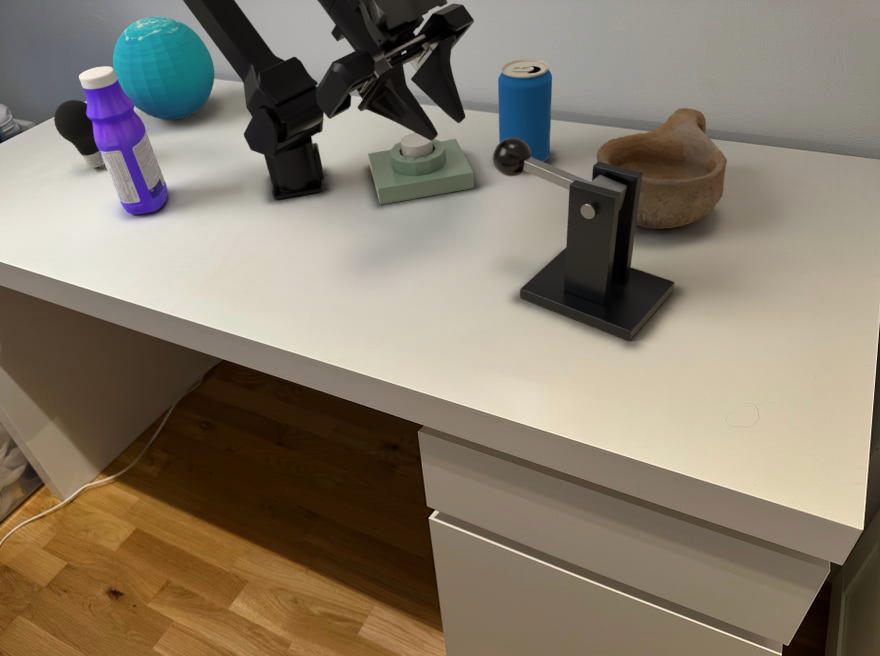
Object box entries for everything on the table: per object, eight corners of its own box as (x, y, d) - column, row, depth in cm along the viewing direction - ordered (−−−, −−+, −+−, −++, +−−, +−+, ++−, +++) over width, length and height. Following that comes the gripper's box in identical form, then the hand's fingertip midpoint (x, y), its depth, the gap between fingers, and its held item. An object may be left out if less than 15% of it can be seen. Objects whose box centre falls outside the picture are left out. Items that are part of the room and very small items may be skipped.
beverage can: (547, 171, 89) (550, 77, 81) (497, 171, 90) (494, 78, 82) (550, 148, 94) (554, 56, 86) (502, 148, 95) (501, 58, 87)
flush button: (404, 162, 87) (403, 148, 86) (399, 148, 90) (398, 135, 89) (436, 156, 87) (434, 143, 86) (430, 142, 90) (428, 130, 89)
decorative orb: (243, 100, 117) (217, 3, 107) (190, 139, 108) (156, 37, 97) (171, 94, 122) (140, 2, 112) (114, 132, 113) (75, 34, 103)
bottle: (133, 193, 96) (79, 64, 84) (174, 187, 96) (126, 58, 84) (121, 220, 91) (62, 87, 79) (164, 215, 91) (111, 80, 79)
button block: (380, 204, 87) (375, 175, 84) (370, 168, 95) (365, 140, 92) (474, 188, 88) (472, 158, 85) (457, 153, 95) (455, 125, 93)
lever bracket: (519, 298, 71) (519, 183, 62) (566, 255, 75) (573, 142, 67) (629, 341, 64) (646, 220, 56) (673, 291, 69) (695, 172, 60)
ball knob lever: (484, 174, 68) (487, 141, 65) (505, 159, 70) (509, 126, 67) (604, 228, 62) (613, 194, 60) (624, 210, 64) (633, 176, 61)
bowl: (597, 152, 89) (628, 76, 81) (705, 190, 87) (747, 116, 79) (567, 224, 77) (600, 143, 69) (691, 270, 75) (738, 192, 68)
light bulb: (68, 175, 102) (37, 109, 96) (96, 157, 106) (67, 92, 99) (99, 179, 100) (69, 112, 94) (126, 160, 104) (99, 94, 97)
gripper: (312, -37, 57) (428, 121, 58) (453, -90, 66) (550, 47, 68) (271, 49, 66) (373, 183, 68) (400, -8, 76) (486, 110, 77)
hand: (448, 129), depth 70 cm, fingers open, 4 cm apart
